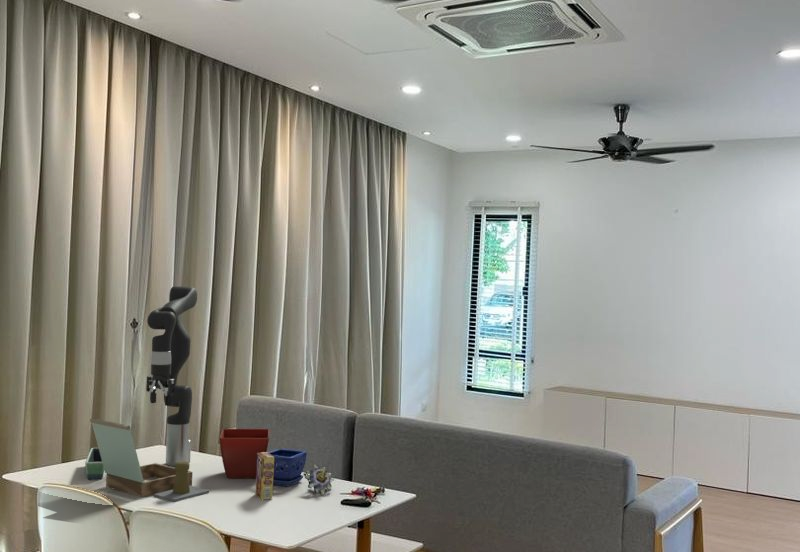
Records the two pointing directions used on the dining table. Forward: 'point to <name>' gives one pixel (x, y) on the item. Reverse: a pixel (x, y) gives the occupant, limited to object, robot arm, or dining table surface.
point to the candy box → (264, 475)
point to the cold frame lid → (117, 449)
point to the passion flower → (319, 479)
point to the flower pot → (288, 466)
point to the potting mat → (176, 497)
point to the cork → (181, 478)
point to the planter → (94, 465)
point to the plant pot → (242, 451)
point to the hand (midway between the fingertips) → (160, 404)
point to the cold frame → (148, 487)
